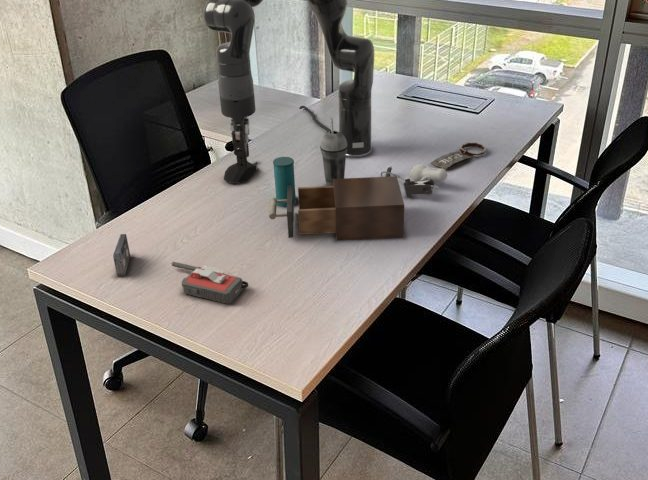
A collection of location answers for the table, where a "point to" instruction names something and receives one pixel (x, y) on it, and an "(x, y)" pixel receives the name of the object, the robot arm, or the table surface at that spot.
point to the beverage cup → (333, 155)
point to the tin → (284, 178)
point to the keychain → (459, 156)
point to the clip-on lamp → (421, 179)
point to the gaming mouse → (239, 173)
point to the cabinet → (368, 208)
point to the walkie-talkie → (211, 283)
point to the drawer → (309, 210)
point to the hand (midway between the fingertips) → (243, 162)
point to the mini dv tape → (121, 255)
